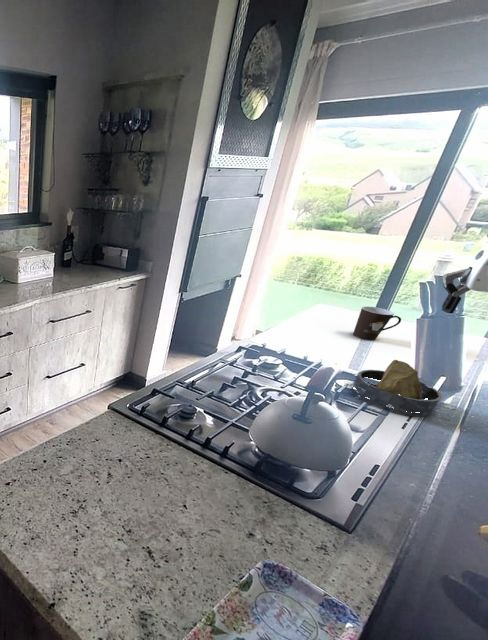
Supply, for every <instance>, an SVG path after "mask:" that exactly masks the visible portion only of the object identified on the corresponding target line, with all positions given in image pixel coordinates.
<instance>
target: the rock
mask: <svg viewBox="0 0 488 640" xmlns="http://www.w3.org/2000/svg"><path fill="white" fill-rule="evenodd" d="M384 371H385V373H384V376H383V378H382V379H381V381H380V382H379V383H378V384H377V385H376V387H377V388H379V389H381V390H384V391H387V392H389V393H392V394H396V395H398V394H400V395H401V396H403V397H407V398H412V399H418V400H421V398H422V385H421V384H420V383H419V381H420V378H419V376H418V374H419V373H418V371H417V370H416V369H414V368H413V366H411V365H410V364H409V363H407V362H405V361H402V360H398V359H394V360H392V361H391V362H390V363H389V365H388V366H387V367H386V369H385V370H384Z"/></svg>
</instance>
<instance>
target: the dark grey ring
mask: <svg viewBox="0 0 488 640" xmlns="http://www.w3.org/2000/svg"><path fill="white" fill-rule="evenodd" d="M384 373H385V370H380V369H363V370H360V371H359V372H358V373H357V374H356V377H355V378H354V380H353V381H352V383H351V386H350V391H351V392H352V394H353V395H354V396H356V397H357V398H359V399H360V400H361V401H363V402H365V403H367V404H368V405H371V406H373V407H376V408H378V409H381V410H384V411H387V412H391V413H393V414H398V415H402V416H408V417H428V416H430V415H431V414H432V413H433V412H434V410H436V407H437V406H438V405H439V404H440V401H442V400H443V396H442V393H440V392H439V391H438V390H437V389H436V388H434V387H433V386H431V385H429V384H427V383H425V382H423V381H420V380H419V383H420V384H421V385H422V398H421V400H418V399H412V398H407V397H403V396H399V395H396V394H392V393H389V392H387V391H384V390H381V389H379V388H377V387H376V385H373V384H370V383H369V382H366V381H365V380H364V379H363V378H364V377H368V378H373V379H377V380H381V379H382V378H383V376H384ZM352 385H353V387H355V388H356V389H357V390H358V392H359V393H357V392H356V391H355V390H354V389H353V387H352ZM365 397H368V398H370V400H369V399H367V398H365ZM425 398H428V400H424V399H425ZM388 404H391V405H392V406H393V407H394V409H393V408H389V407H386V405H388ZM406 411H407V412H406ZM411 412H412V413H411ZM413 412H414V413H413ZM415 412H420V413H415Z"/></svg>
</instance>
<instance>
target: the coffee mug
mask: <svg viewBox="0 0 488 640" xmlns="http://www.w3.org/2000/svg"><path fill="white" fill-rule="evenodd" d="M393 318H395V319H396V318H397V319H398V321H397V322H396V323H394V324H393V325H390V326H388V327H386V326H387V324H388V323H389V322H390V320H392V319H393ZM400 323H402V318H401V317H400V316H398V315H395V313H394V312H393V311H391V310H389V309H385V308H381V307H377V306H376V307H375V306H362V307H361V309H360V312H359V315H358V318H357V321H356V324H355V327H354V330H353V333H352V336H353V337H354V338H357V339H361V340H364V341H370V342H371V341H376V340H377V338H378V337H379V335H380V334H381V333H382V332H383V331H387V330H389V329H392V328H394V327H397V326H398V325H400Z"/></svg>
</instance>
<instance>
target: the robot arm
mask: <svg viewBox="0 0 488 640" xmlns="http://www.w3.org/2000/svg"><path fill="white" fill-rule="evenodd" d="M486 237H487V238H488V232H487V233H486ZM456 279H459V280H458V284H456V285H455V284H454V281H455V280H456ZM442 283H443V285H442V287H443V288H444V289H445V291H446V293H447V296H446V298H445V300H444V301H443V303H442V305H441V311H442V312H444V313H446V314H449V315H451V314H454V313H455V311H456V309H457V307H458V306H459V304H460V303H461V301H462V295H464V294H466V293H468V292H469V291H471V290H472V291H474V292H482V293H488V241H486V242H485V244H484V245H482V247H481V248H480V249H479V250H478V251H477V253H476V254H475V255H474V256H473V258H472V259H471V260H470V262H469V263H468V264H467V265H466V268H464V269H460V270H456V271H453V272H452V271H451V272H448V273H445V274H443V275H442Z"/></svg>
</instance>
